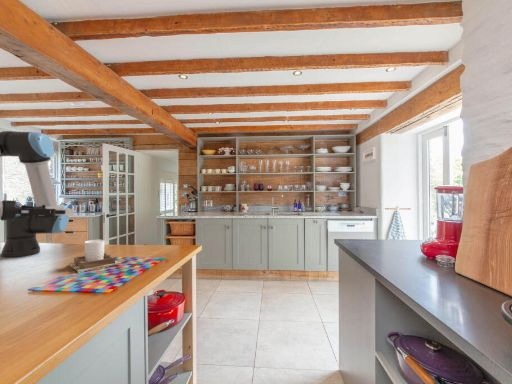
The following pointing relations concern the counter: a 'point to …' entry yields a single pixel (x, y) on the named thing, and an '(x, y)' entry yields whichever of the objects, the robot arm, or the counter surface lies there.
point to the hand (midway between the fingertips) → (68, 211)
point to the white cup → (94, 250)
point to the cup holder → (92, 263)
